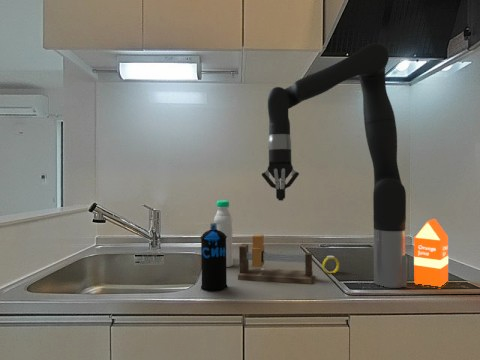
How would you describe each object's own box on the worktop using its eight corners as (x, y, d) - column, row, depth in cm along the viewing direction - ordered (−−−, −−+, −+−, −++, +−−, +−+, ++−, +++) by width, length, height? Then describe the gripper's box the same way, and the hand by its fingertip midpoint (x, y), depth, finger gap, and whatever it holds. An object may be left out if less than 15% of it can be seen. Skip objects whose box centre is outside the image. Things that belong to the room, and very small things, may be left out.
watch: (325, 275, 129) (324, 258, 129) (321, 273, 132) (320, 256, 132) (340, 272, 131) (339, 256, 131) (336, 270, 134) (335, 254, 134)
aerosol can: (201, 283, 120) (200, 221, 119) (227, 283, 120) (226, 221, 120) (200, 291, 111) (199, 225, 111) (227, 291, 112) (227, 224, 112)
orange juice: (413, 283, 118) (413, 220, 117) (422, 277, 124) (422, 217, 124) (441, 288, 112) (440, 222, 112) (448, 282, 119) (448, 219, 119)
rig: (312, 275, 128) (312, 245, 128) (311, 283, 118) (310, 250, 118) (244, 271, 134) (244, 242, 134) (237, 279, 124) (237, 248, 124)
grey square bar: (306, 261, 125) (305, 253, 125) (305, 263, 122) (305, 254, 122) (247, 258, 130) (247, 250, 130) (246, 260, 127) (245, 252, 127)
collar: (264, 263, 130) (264, 234, 130) (261, 267, 124) (260, 236, 124) (255, 262, 131) (255, 233, 131) (252, 267, 125) (251, 236, 125)
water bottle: (212, 264, 145) (211, 200, 145) (229, 262, 148) (228, 199, 147) (217, 268, 139) (216, 201, 138) (235, 267, 141) (234, 200, 141)
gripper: (300, 148, 127) (301, 199, 127) (262, 150, 130) (263, 199, 131) (298, 147, 120) (299, 201, 120) (258, 148, 123) (259, 201, 123)
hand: (280, 200), depth 125 cm, fingers closed
